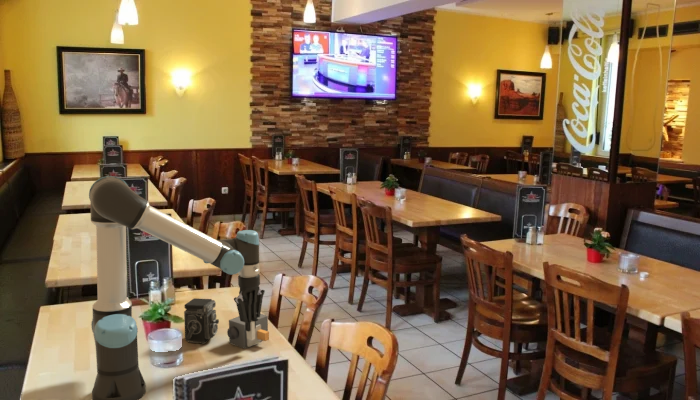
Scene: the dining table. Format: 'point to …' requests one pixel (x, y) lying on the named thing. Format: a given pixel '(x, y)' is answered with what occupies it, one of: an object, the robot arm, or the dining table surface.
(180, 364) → the dining table surface
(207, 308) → the camera
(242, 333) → the housing
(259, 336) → the side door
